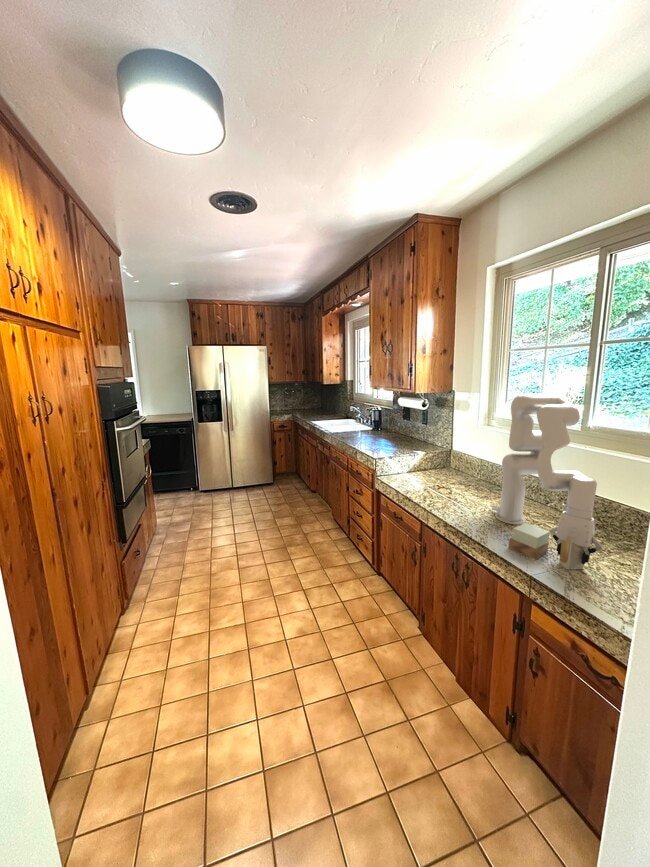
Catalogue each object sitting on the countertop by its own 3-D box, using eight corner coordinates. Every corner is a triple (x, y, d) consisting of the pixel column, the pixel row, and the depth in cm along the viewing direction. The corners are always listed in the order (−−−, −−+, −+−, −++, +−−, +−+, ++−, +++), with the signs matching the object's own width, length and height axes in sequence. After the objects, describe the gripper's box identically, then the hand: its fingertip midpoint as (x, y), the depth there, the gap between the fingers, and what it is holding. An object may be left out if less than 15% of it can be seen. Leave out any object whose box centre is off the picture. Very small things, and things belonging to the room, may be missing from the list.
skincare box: (574, 562, 126) (579, 531, 124) (583, 569, 122) (589, 537, 119) (557, 562, 126) (562, 531, 123) (566, 569, 122) (570, 537, 119)
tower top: (512, 538, 135) (513, 528, 134) (524, 533, 140) (525, 522, 139) (536, 549, 127) (537, 537, 127) (548, 542, 132) (549, 531, 131)
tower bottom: (508, 549, 136) (509, 538, 135) (520, 542, 141) (522, 532, 141) (535, 560, 128) (536, 549, 127) (547, 552, 133) (548, 541, 133)
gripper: (546, 506, 125) (540, 551, 128) (606, 523, 111) (597, 573, 114) (555, 501, 129) (549, 545, 132) (613, 517, 115) (605, 565, 118)
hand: (571, 557), depth 123 cm, fingers closed on skincare box, 6 cm apart
